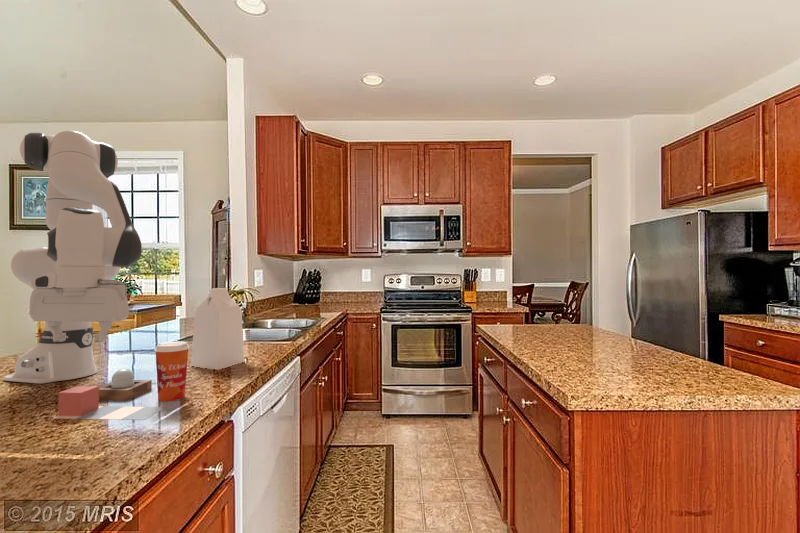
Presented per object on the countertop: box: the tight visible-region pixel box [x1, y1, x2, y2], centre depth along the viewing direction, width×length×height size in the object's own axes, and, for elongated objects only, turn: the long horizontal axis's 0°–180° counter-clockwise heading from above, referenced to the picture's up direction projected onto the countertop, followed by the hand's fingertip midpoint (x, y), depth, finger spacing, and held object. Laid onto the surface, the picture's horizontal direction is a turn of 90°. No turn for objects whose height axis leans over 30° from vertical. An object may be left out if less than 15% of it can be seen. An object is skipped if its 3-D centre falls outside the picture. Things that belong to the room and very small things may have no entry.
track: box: [53, 405, 167, 421], centre depth 91 cm, size 20×8×1 cm, turn 88°
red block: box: [57, 385, 100, 416], centre depth 91 cm, size 5×5×5 cm
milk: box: [190, 287, 245, 371], centre depth 140 cm, size 12×12×26 cm
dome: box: [111, 368, 135, 388], centre depth 104 cm, size 5×5×6 cm
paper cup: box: [153, 340, 191, 402], centre depth 101 cm, size 8×8×14 cm
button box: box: [99, 379, 153, 401], centre depth 104 cm, size 9×9×3 cm
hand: (79, 341), depth 91 cm, fingers open, 8 cm apart
